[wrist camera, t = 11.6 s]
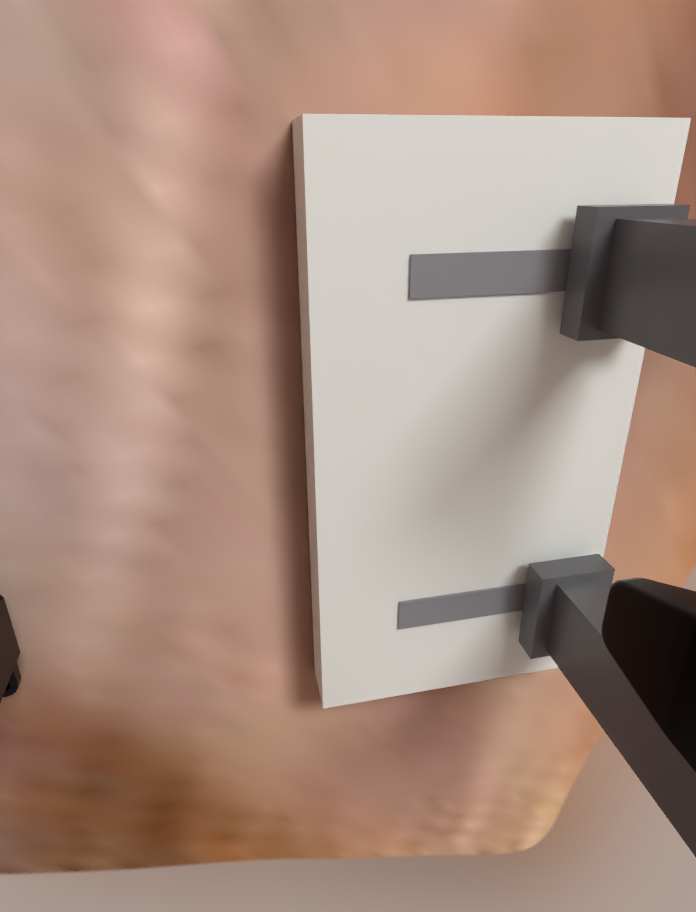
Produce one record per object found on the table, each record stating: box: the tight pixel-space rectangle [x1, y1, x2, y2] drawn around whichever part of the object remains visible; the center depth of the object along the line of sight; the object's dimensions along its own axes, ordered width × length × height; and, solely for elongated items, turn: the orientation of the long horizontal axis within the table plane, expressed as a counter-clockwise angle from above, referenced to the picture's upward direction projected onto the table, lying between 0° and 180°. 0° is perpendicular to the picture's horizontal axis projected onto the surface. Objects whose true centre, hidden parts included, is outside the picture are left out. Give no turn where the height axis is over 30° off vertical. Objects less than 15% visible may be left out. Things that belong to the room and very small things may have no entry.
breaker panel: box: [292, 114, 691, 709], centre depth 21 cm, size 11×20×2 cm, turn 0°
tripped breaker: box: [518, 554, 696, 857], centre depth 19 cm, size 3×4×9 cm
